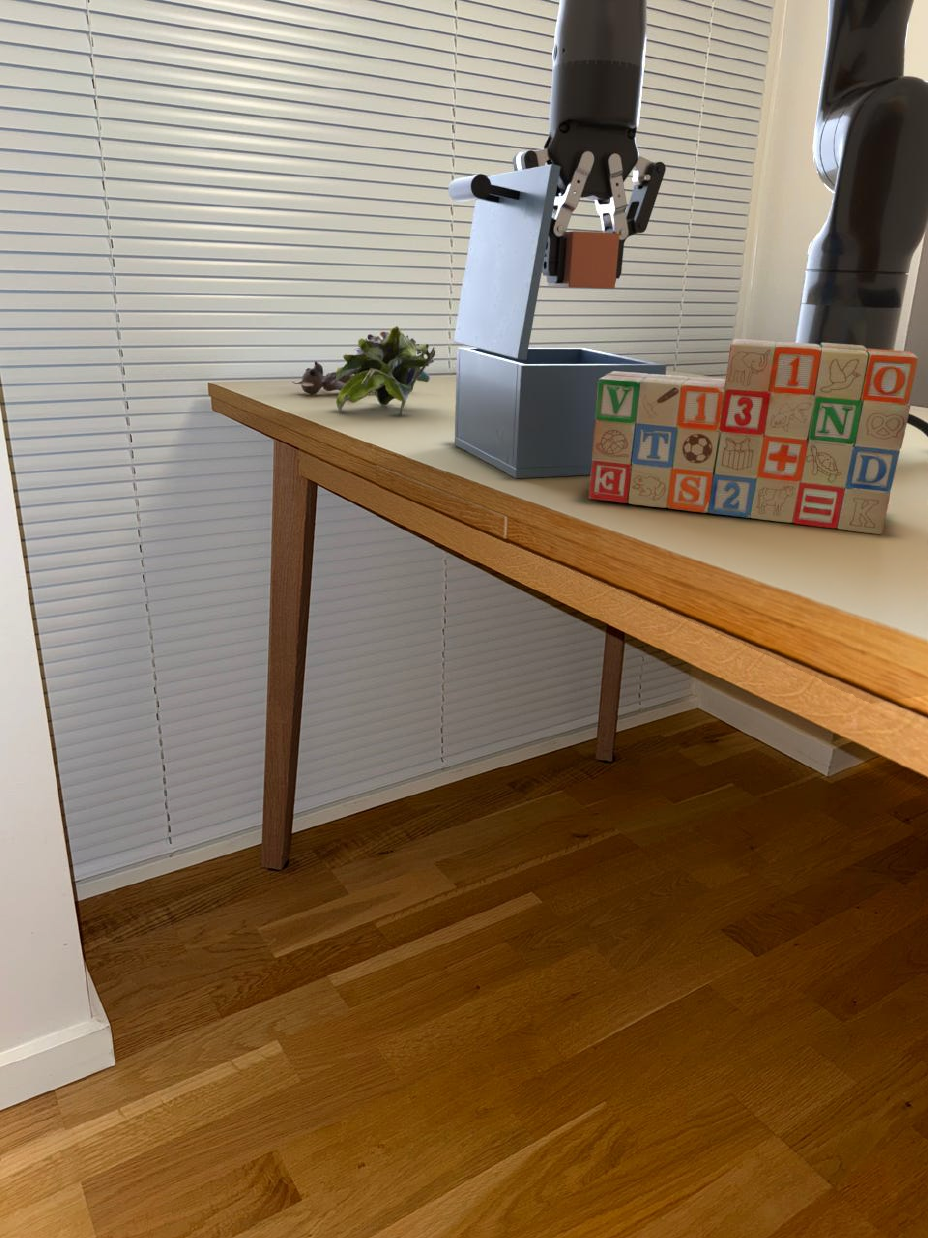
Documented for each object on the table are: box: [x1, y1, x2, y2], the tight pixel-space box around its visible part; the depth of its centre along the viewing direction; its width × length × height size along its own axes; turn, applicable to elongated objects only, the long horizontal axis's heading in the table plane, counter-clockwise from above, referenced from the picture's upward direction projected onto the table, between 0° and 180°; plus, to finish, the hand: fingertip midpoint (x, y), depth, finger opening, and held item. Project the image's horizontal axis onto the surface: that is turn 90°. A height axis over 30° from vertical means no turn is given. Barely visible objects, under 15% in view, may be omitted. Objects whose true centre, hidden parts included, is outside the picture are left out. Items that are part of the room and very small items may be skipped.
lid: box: [447, 164, 561, 360], centre depth 79 cm, size 14×16×5 cm
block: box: [547, 230, 619, 290], centre depth 82 cm, size 4×4×4 cm
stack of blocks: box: [588, 338, 919, 535], centre depth 69 cm, size 21×6×12 cm, turn 71°
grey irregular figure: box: [291, 361, 354, 396], centre depth 125 cm, size 18×4×14 cm
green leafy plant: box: [335, 325, 436, 417], centre depth 110 cm, size 11×11×12 cm
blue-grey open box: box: [454, 347, 667, 479], centre depth 86 cm, size 14×16×9 cm
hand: (581, 283), depth 83 cm, fingers closed on block, 4 cm apart
